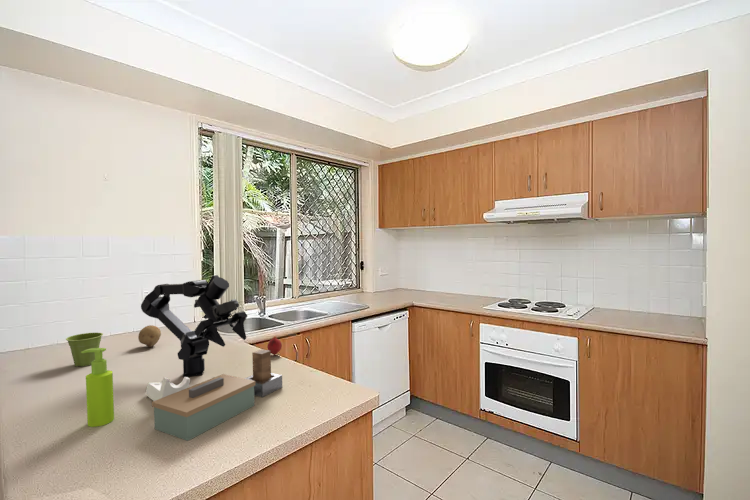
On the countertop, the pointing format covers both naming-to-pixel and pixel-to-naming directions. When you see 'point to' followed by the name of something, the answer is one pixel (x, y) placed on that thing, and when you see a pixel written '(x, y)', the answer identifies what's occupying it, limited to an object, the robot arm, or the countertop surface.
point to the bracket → (165, 388)
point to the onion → (274, 345)
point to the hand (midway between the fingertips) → (235, 342)
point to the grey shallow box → (267, 385)
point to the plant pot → (84, 347)
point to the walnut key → (261, 365)
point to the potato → (149, 335)
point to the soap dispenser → (99, 391)
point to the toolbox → (203, 406)
